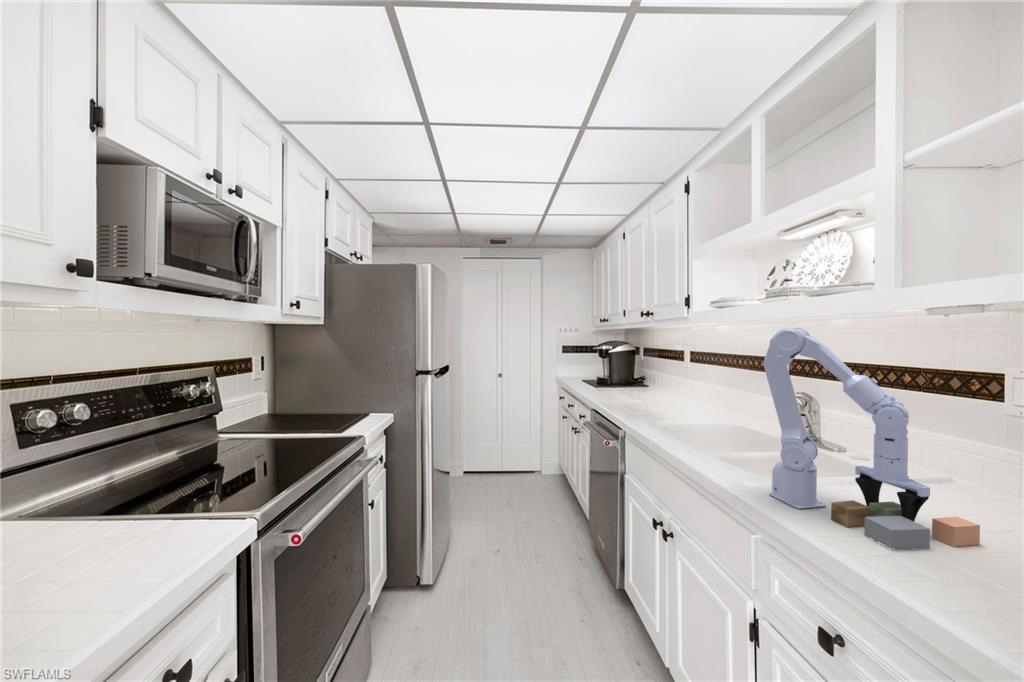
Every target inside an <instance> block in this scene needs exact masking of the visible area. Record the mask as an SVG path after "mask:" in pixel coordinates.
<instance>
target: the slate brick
mask: <svg viewBox="0 0 1024 682" xmlns="http://www.w3.org/2000/svg"><path fill="white" fill-rule="evenodd" d="M865 535H866V536H865ZM864 536H865V537H867V536H868V537H867V538H869V537H870V538H872V539H874V540H876V541H878V542H880V543H882V544H884V545H886V546H887V547H889V548H891V549H893V548H894V549H902V550H913V549H912V548H929V549H930V548H931V547H930V546H931V545H930V544H931V542H930V536H931V530H930V528H929V527H927V526H924V525H922V524H921V523H918V522H915V521H914V522H913V521H911V520H909V519H907V518H905V517H902V516H877V517H865V526H864ZM870 538H869V539H870ZM872 539H871V540H872ZM874 540H873V541H874ZM876 541H875V542H876ZM878 542H877V543H878ZM887 547H886V548H887ZM889 548H888V549H889Z"/></svg>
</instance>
